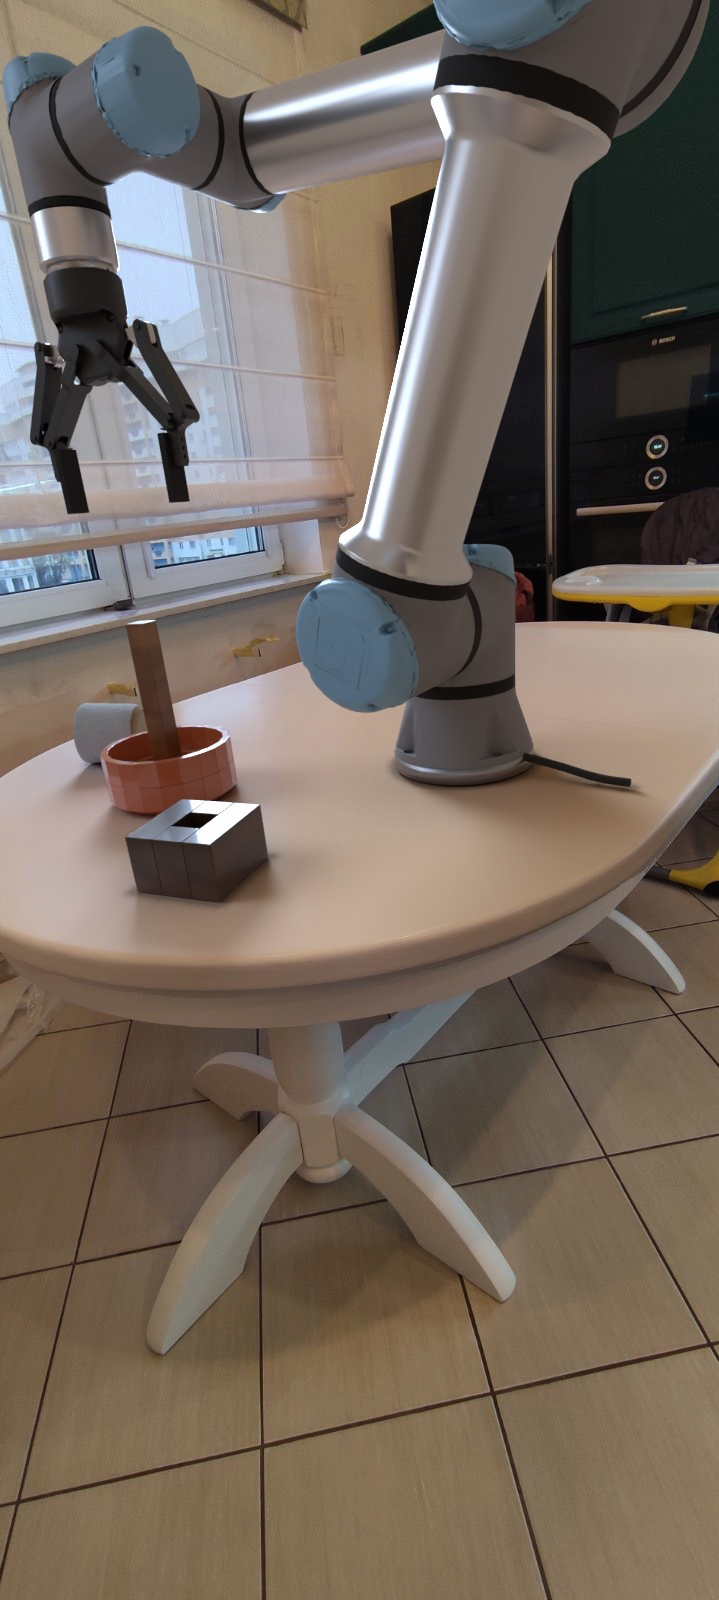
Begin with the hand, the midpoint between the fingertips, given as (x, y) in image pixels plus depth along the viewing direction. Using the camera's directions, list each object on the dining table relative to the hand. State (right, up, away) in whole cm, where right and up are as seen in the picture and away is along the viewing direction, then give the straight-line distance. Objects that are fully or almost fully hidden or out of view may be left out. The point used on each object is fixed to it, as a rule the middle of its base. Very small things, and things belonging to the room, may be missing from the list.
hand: (127, 508), depth 79 cm
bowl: (+5, -31, +1) cm, 32 cm away
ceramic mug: (-6, -26, +17) cm, 32 cm away
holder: (+12, -38, -18) cm, 44 cm away
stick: (+5, -30, +1) cm, 31 cm away
